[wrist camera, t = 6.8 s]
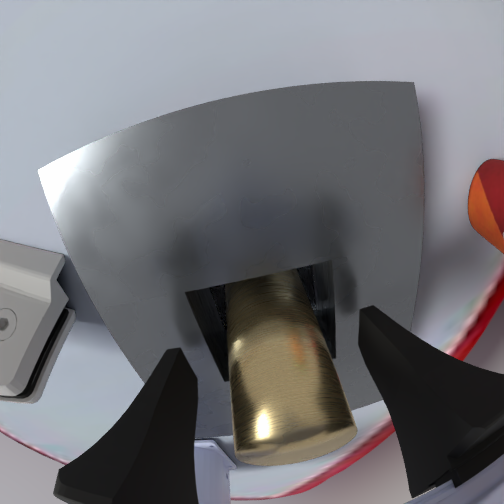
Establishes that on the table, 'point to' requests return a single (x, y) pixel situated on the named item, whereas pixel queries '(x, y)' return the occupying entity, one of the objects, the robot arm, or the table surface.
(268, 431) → the brass pin
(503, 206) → the paper cup
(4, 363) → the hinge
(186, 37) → the table surface
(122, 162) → the block
